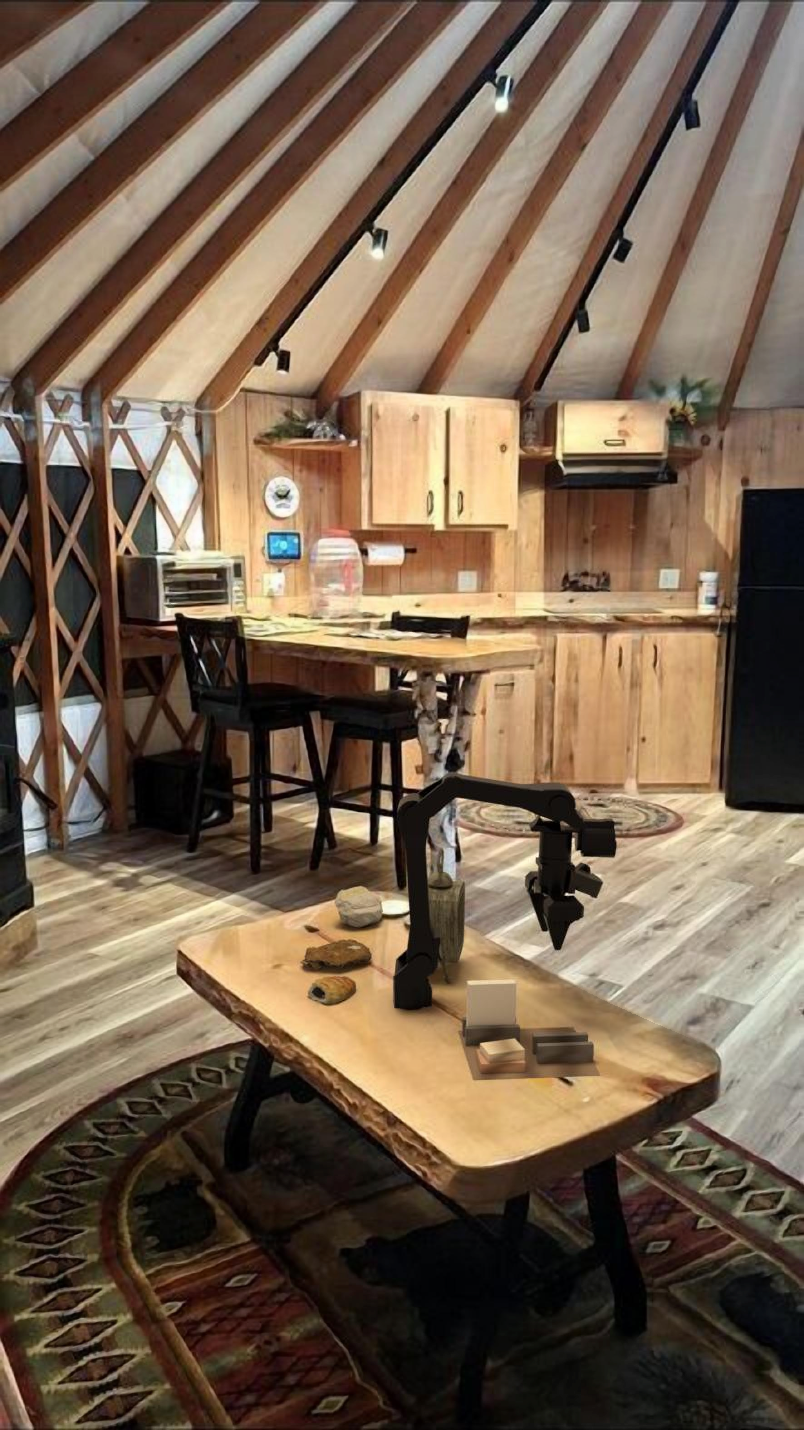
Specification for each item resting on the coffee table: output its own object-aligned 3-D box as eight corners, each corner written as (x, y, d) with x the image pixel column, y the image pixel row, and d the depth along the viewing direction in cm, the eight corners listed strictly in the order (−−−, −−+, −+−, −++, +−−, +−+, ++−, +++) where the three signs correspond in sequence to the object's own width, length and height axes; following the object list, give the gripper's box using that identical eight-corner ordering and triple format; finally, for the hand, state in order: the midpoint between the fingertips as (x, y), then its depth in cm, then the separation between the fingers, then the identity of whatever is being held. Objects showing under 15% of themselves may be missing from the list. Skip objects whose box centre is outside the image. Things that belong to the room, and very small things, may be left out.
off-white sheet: (467, 1042, 169) (468, 984, 168) (466, 1037, 171) (467, 980, 170) (515, 1040, 170) (516, 983, 169) (513, 1036, 172) (514, 979, 170)
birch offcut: (489, 1063, 159) (489, 1054, 159) (479, 1052, 163) (479, 1043, 162) (524, 1058, 161) (524, 1049, 160) (514, 1047, 164) (514, 1038, 164)
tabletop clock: (455, 988, 195) (457, 861, 192) (409, 984, 197) (409, 858, 193) (464, 959, 209) (465, 841, 206) (420, 956, 211) (421, 839, 207)
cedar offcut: (480, 1073, 159) (481, 1064, 159) (475, 1058, 164) (476, 1049, 164) (525, 1071, 159) (525, 1062, 159) (518, 1056, 164) (519, 1047, 164)
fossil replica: (392, 919, 234) (352, 917, 237) (390, 883, 233) (350, 882, 237) (371, 932, 222) (329, 930, 226) (369, 894, 222) (328, 893, 226)
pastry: (339, 983, 197) (339, 964, 197) (365, 993, 193) (365, 974, 192) (304, 998, 190) (304, 979, 190) (330, 1009, 186) (330, 989, 185)
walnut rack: (473, 1089, 157) (473, 1061, 156) (457, 1039, 174) (458, 1014, 173) (600, 1084, 159) (601, 1057, 158) (573, 1035, 175) (573, 1010, 175)
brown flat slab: (323, 984, 198) (381, 967, 208) (324, 964, 197) (383, 948, 207) (289, 964, 206) (347, 948, 216) (290, 944, 206) (348, 930, 216)
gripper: (615, 870, 171) (610, 959, 173) (584, 841, 190) (580, 921, 192) (550, 871, 170) (546, 960, 172) (526, 841, 188) (522, 922, 191)
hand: (551, 940), depth 182 cm, fingers open, 9 cm apart
